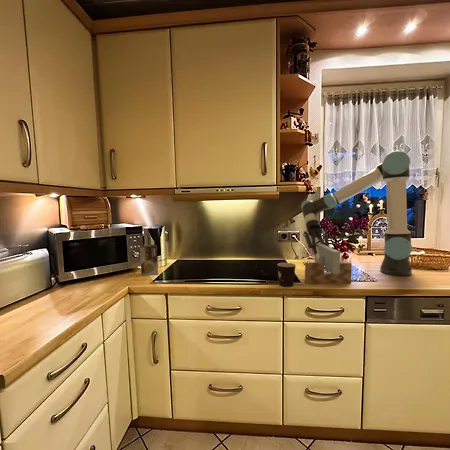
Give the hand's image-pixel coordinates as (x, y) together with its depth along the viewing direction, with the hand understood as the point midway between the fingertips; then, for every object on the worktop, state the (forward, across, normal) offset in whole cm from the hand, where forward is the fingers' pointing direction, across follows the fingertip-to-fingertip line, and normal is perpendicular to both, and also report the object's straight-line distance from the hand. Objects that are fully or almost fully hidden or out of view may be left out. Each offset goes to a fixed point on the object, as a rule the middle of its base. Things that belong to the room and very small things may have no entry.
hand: (322, 258), depth 148 cm
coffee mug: (+13, +20, -3) cm, 24 cm away
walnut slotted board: (+12, -1, -4) cm, 12 cm away
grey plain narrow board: (+6, 0, +1) cm, 6 cm away
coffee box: (-4, +92, -21) cm, 94 cm away
